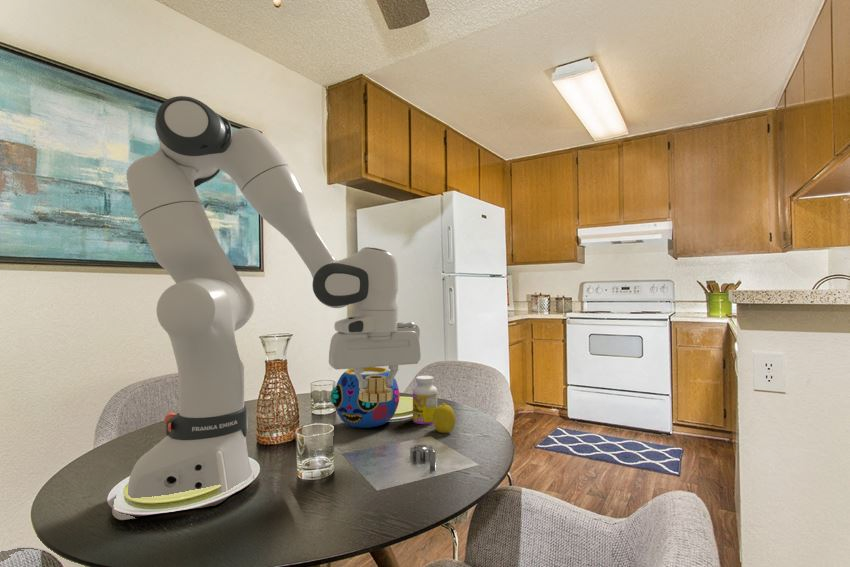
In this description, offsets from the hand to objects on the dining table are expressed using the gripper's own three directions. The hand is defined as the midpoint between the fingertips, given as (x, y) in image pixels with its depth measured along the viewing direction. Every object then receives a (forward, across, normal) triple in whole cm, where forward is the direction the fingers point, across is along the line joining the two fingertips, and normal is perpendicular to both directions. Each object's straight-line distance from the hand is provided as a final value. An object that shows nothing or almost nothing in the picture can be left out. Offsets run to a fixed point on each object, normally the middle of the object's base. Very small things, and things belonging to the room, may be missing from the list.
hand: (375, 387), depth 93 cm
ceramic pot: (+16, -7, -23) cm, 29 cm away
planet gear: (+2, 0, 0) cm, 2 cm away
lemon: (+15, -21, -6) cm, 26 cm away
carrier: (+15, -5, +6) cm, 17 cm away
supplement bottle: (+15, -21, -16) cm, 30 cm away
